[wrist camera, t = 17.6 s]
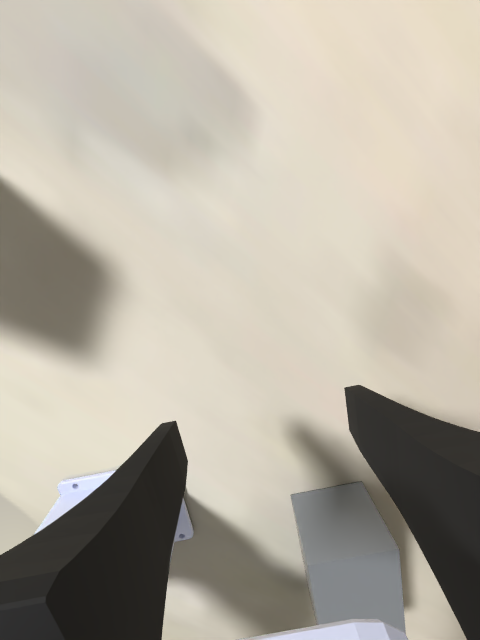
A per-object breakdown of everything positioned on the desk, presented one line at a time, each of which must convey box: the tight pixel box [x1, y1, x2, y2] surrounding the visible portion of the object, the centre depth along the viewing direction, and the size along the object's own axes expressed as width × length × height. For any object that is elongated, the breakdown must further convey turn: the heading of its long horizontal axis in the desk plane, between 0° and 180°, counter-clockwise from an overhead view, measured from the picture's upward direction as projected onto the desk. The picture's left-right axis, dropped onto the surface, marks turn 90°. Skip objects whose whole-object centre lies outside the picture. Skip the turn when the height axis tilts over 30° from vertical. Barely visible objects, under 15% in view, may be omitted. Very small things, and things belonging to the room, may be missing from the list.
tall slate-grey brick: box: [291, 481, 406, 634], centre depth 23 cm, size 6×12×6 cm, turn 11°
